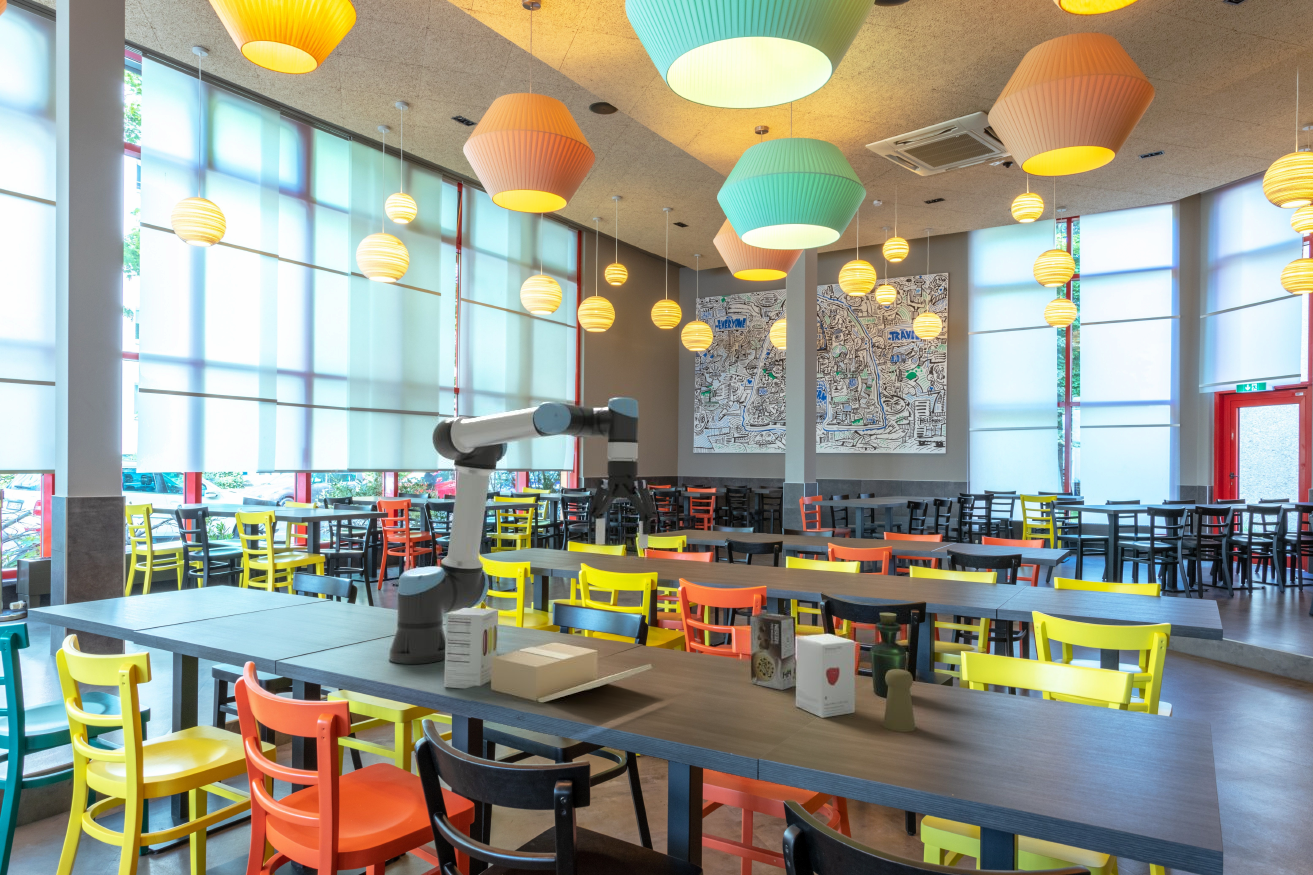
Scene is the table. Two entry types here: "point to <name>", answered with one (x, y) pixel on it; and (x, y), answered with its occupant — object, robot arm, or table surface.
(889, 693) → the olive pawn
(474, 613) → the supplement box
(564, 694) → the carton flap
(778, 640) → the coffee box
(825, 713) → the supplement box
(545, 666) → the carton
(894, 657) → the potion bottle
